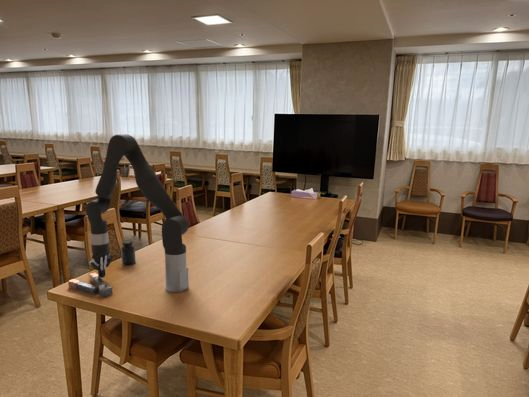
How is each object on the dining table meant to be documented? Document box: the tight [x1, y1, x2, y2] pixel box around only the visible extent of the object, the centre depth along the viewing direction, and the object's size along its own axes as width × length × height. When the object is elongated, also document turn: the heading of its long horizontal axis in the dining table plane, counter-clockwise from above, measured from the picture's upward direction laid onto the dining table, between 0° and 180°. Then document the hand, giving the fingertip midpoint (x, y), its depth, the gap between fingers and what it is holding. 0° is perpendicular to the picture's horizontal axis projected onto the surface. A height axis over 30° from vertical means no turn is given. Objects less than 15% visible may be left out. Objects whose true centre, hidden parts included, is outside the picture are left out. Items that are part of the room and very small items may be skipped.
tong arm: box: [89, 272, 108, 289], centre depth 169 cm, size 16×3×3 cm, turn 41°
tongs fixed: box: [67, 278, 113, 298], centre depth 163 cm, size 21×5×4 cm, turn 63°
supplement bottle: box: [120, 239, 136, 266], centre depth 196 cm, size 7×7×12 cm
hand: (102, 276), depth 175 cm, fingers closed
